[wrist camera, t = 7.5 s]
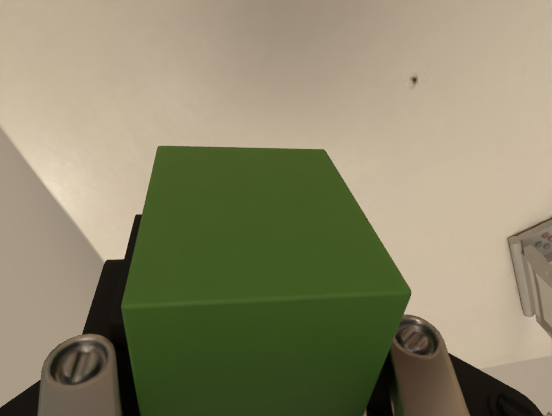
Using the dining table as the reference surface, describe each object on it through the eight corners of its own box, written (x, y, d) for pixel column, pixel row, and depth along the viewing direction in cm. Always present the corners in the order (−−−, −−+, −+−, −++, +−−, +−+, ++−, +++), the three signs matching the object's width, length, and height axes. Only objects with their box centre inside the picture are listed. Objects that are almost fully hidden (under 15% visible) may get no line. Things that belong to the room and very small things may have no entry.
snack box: (171, 326, 14) (155, 512, 9) (157, 144, 10) (119, 307, 5) (294, 319, 15) (336, 485, 10) (325, 148, 11) (414, 291, 6)
